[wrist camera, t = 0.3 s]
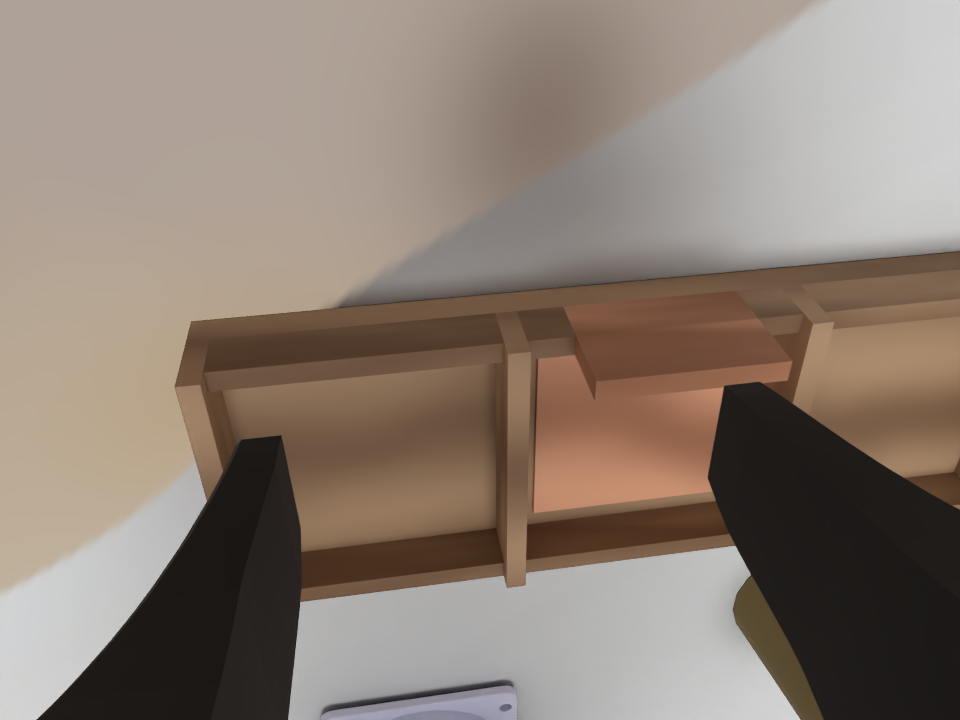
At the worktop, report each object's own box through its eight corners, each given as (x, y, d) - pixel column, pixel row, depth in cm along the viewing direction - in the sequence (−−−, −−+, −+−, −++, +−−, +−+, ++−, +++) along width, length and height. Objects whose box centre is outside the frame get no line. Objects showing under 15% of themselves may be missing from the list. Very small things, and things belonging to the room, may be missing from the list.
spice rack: (946, 463, 31) (1030, 556, 27) (249, 548, 28) (237, 665, 24) (1038, 244, 25) (1157, 323, 22) (190, 321, 22) (165, 426, 19)
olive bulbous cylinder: (829, 518, 31) (1028, 812, 22) (901, 580, 34) (1102, 861, 25) (704, 605, 33) (841, 907, 24) (782, 657, 36) (930, 942, 27)
